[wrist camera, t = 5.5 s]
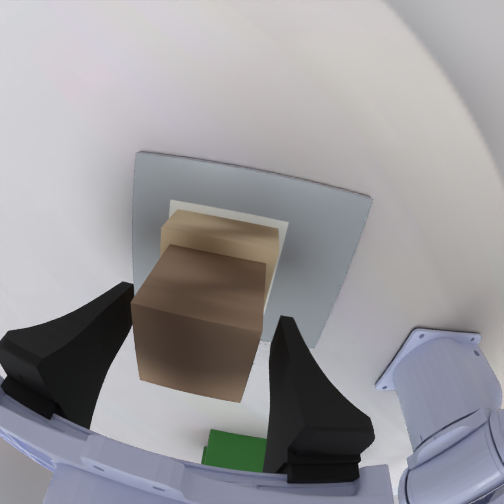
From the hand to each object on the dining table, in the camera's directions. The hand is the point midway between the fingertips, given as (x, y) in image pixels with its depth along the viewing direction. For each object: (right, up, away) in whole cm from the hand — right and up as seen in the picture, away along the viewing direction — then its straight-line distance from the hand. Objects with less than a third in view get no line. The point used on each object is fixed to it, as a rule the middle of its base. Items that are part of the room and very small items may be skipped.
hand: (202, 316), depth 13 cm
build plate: (+1, +2, +5) cm, 6 cm away
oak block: (0, +2, +5) cm, 5 cm away
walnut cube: (0, +1, +2) cm, 2 cm away
